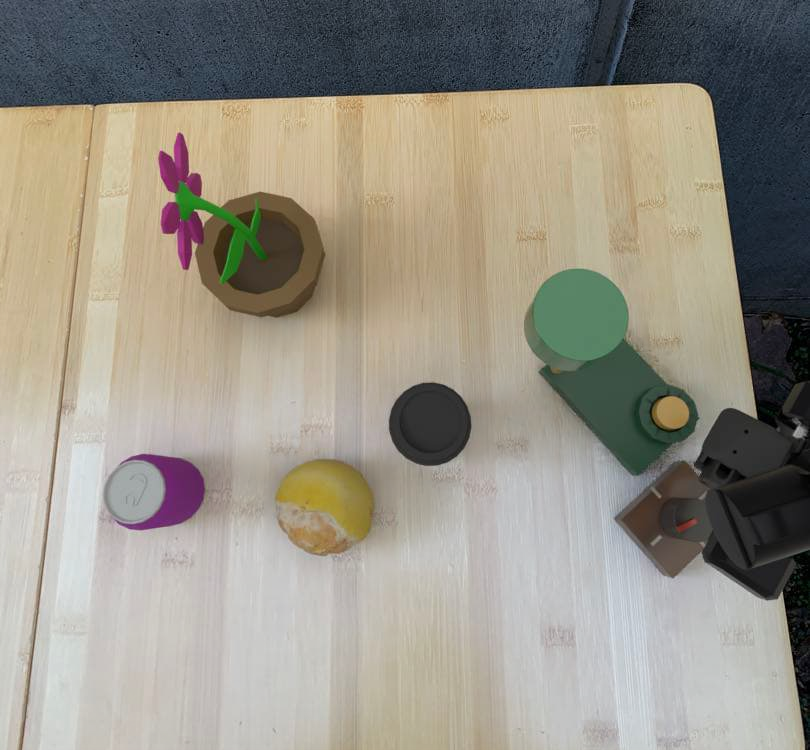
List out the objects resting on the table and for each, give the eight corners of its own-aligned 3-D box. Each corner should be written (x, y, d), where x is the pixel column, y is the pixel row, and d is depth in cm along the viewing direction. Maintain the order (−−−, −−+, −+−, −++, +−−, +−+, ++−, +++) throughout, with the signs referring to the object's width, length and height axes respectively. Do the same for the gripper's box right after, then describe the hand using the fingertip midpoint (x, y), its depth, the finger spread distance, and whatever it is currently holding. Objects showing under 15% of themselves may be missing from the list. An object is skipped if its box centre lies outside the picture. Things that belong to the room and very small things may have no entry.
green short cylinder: (630, 332, 61) (649, 319, 57) (566, 389, 60) (579, 380, 55) (569, 268, 63) (582, 249, 58) (505, 322, 62) (512, 308, 57)
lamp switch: (690, 415, 77) (696, 414, 75) (667, 436, 77) (673, 435, 75) (667, 391, 78) (672, 389, 76) (644, 412, 77) (649, 410, 76)
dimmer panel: (727, 518, 78) (740, 519, 75) (665, 577, 76) (675, 581, 73) (673, 459, 79) (683, 458, 76) (611, 516, 78) (619, 517, 75)
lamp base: (695, 420, 81) (709, 417, 77) (633, 477, 79) (644, 477, 75) (599, 319, 84) (608, 310, 80) (538, 372, 82) (544, 366, 78)
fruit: (287, 459, 80) (270, 455, 71) (378, 462, 80) (373, 458, 70) (280, 550, 78) (261, 558, 68) (374, 553, 77) (368, 563, 68)
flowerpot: (222, 227, 88) (125, 96, 59) (333, 223, 88) (291, 90, 58) (218, 335, 84) (113, 253, 55) (334, 331, 84) (290, 247, 55)
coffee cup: (449, 480, 79) (456, 478, 65) (382, 454, 80) (375, 447, 66) (472, 412, 81) (484, 396, 67) (407, 388, 82) (405, 367, 68)
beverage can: (195, 533, 78) (156, 540, 67) (132, 516, 79) (83, 520, 67) (215, 466, 80) (181, 462, 69) (154, 450, 81) (110, 444, 69)
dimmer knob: (685, 490, 76) (703, 490, 71) (707, 528, 75) (726, 530, 70) (651, 508, 75) (667, 510, 71) (672, 546, 74) (689, 550, 70)
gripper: (795, 328, 55) (715, 363, 70) (681, 529, 51) (623, 519, 66) (927, 407, 53) (815, 424, 68) (818, 620, 49) (726, 589, 64)
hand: (743, 486), depth 67 cm, fingers open, 9 cm apart
